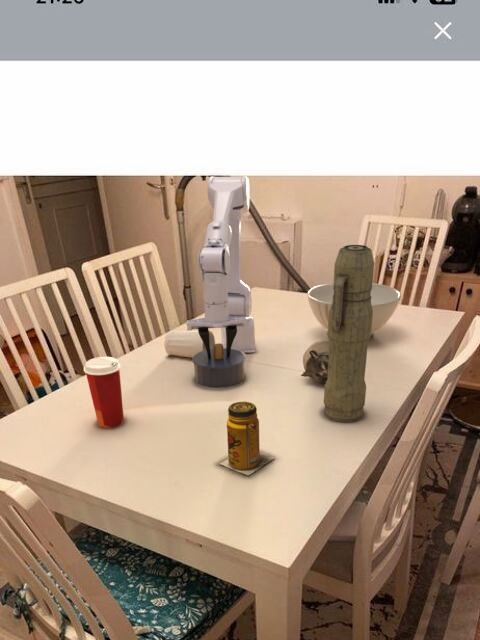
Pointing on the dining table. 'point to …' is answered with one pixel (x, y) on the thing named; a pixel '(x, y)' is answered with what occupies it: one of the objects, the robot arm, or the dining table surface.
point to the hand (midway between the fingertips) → (218, 356)
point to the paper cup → (105, 390)
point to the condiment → (244, 439)
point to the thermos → (349, 334)
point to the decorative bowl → (381, 300)
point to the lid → (218, 358)
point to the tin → (219, 376)
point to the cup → (186, 343)
